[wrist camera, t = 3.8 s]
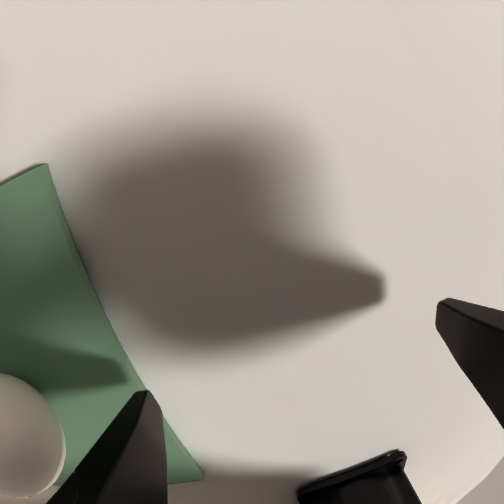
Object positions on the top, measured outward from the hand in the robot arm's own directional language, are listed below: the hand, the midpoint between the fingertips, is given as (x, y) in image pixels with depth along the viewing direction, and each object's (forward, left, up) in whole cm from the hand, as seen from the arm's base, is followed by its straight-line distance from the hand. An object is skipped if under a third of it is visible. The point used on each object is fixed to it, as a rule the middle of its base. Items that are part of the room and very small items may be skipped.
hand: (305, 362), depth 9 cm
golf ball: (+10, 0, +1) cm, 10 cm away
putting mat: (+14, 0, -2) cm, 14 cm away
